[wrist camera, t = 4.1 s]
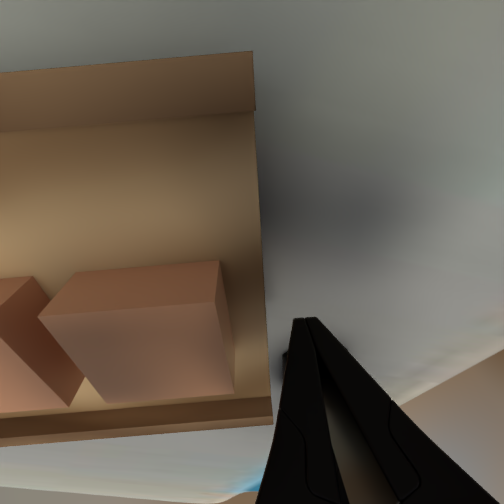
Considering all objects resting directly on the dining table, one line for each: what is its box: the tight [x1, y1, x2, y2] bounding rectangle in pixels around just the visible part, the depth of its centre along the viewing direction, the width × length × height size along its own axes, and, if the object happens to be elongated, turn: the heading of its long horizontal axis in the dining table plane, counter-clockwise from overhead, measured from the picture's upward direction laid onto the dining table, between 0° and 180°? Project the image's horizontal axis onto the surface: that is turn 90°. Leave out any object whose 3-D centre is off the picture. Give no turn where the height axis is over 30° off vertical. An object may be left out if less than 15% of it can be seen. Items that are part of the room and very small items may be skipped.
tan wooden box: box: [0, 51, 273, 447], centre depth 13 cm, size 16×22×9 cm
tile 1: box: [37, 260, 235, 404], centre depth 9 cm, size 5×5×2 cm
